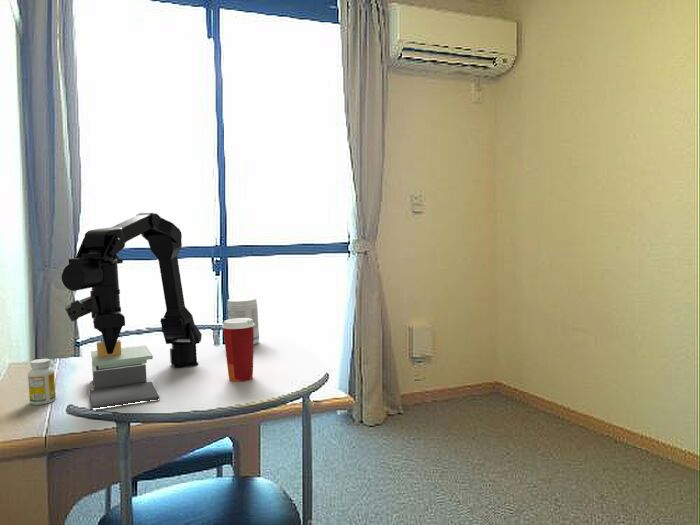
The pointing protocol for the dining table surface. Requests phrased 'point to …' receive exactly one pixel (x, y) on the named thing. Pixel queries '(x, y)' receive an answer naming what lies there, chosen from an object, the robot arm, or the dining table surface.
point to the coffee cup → (239, 348)
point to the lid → (120, 355)
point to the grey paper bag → (244, 312)
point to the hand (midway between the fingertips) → (109, 352)
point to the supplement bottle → (41, 382)
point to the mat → (123, 394)
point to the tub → (118, 375)
